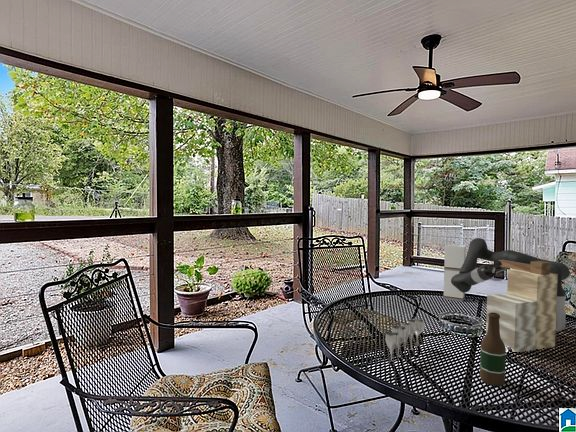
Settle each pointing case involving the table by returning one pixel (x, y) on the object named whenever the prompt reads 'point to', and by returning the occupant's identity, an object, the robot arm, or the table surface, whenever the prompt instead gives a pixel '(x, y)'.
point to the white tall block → (453, 270)
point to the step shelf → (526, 310)
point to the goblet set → (404, 333)
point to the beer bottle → (493, 354)
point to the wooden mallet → (528, 266)
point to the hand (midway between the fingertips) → (507, 262)
